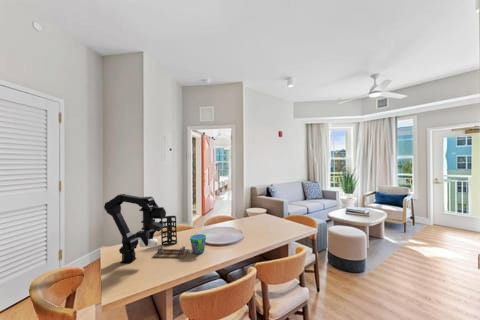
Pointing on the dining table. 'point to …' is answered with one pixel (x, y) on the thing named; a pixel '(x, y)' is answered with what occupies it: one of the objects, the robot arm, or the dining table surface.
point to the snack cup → (198, 243)
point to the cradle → (171, 253)
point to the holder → (169, 228)
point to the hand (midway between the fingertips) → (148, 244)
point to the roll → (149, 243)
